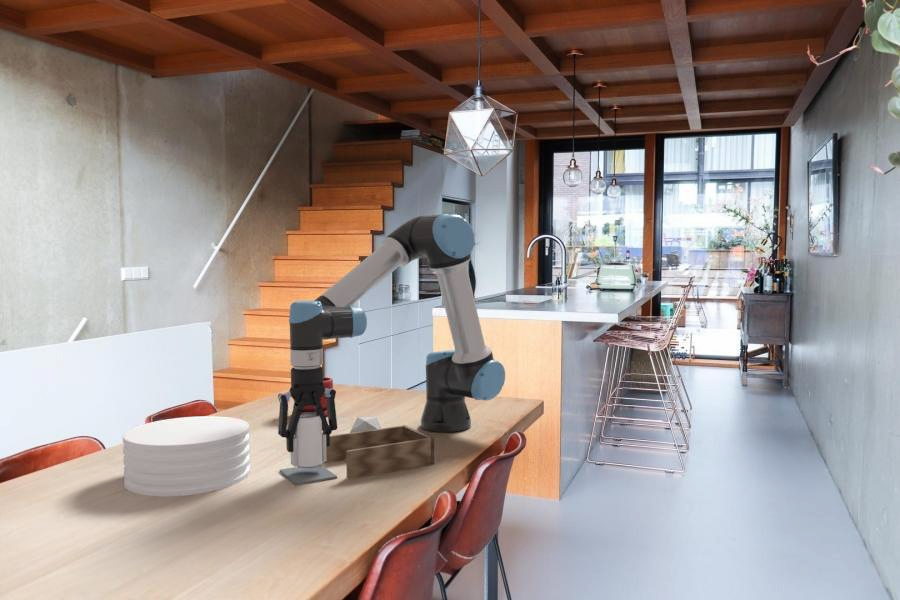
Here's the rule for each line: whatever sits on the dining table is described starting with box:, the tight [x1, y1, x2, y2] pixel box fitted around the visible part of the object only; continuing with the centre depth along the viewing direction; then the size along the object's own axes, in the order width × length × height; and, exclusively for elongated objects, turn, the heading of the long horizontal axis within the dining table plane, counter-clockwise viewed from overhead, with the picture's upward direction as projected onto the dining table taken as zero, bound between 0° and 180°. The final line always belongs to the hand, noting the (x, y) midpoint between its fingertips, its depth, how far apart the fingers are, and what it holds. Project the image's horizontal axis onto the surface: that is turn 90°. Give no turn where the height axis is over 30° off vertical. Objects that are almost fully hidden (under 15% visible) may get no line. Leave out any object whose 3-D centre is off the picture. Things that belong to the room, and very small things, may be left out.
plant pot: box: [293, 376, 334, 417], centre depth 235 cm, size 13×13×12 cm
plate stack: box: [122, 415, 251, 497], centre depth 172 cm, size 28×28×12 cm
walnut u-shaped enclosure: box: [323, 424, 435, 480], centre depth 182 cm, size 23×16×6 cm
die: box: [349, 416, 382, 433], centre depth 196 cm, size 8×9×10 cm
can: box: [294, 412, 324, 468], centre depth 172 cm, size 6×6×12 cm
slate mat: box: [279, 464, 338, 486], centre depth 173 cm, size 10×12×1 cm
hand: (308, 462), depth 172 cm, fingers closed on can, 6 cm apart
